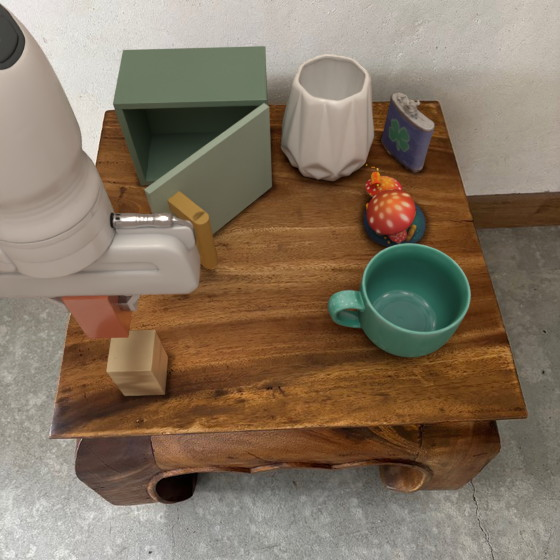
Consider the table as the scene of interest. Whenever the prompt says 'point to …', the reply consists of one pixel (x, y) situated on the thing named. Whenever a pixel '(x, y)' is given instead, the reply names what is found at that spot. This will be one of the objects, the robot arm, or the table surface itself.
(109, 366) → the stand
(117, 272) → the robot arm
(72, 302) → the block
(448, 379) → the table surface
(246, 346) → the table surface
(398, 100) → the flask
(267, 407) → the table surface
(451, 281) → the mug
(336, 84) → the vase
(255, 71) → the cupboard
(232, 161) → the door
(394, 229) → the figurine
